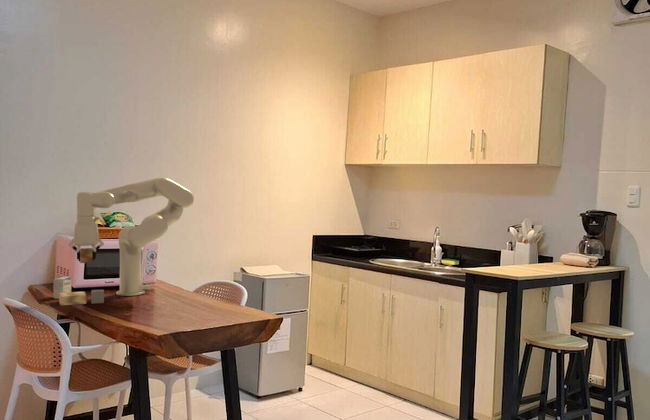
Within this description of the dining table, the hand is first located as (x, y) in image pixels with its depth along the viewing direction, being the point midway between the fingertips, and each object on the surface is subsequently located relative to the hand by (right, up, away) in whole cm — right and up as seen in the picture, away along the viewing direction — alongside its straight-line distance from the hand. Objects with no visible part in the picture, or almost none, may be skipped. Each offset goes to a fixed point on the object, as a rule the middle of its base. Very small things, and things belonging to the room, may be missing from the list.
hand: (86, 260), depth 259 cm
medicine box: (-11, -17, +2) cm, 20 cm away
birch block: (-1, -17, -11) cm, 20 cm away
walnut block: (0, -1, 0) cm, 1 cm away
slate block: (+9, -17, -9) cm, 21 cm away
